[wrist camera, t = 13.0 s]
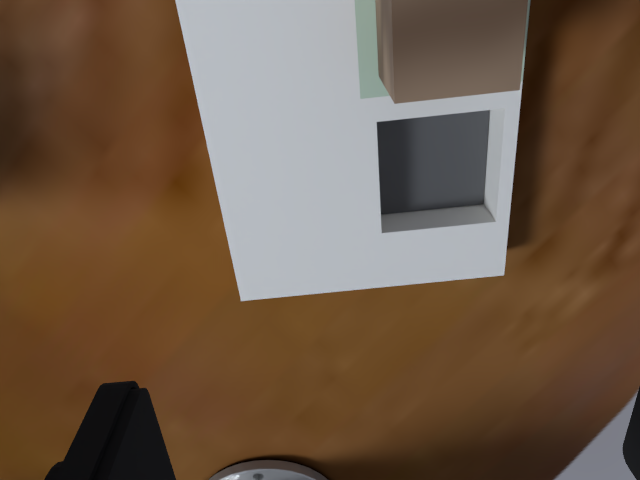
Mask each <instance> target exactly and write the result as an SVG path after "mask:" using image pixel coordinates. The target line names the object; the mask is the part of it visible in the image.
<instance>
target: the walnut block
mask: <svg viewBox="0 0 640 480" xmlns="http://www.w3.org/2000/svg"><path fill="white" fill-rule="evenodd" d="M375 5H376V28H377V50H378V73H379V78H380V80H381V81H382V83H383V85H384V86H385V88H386V90H387V92H388V93H389V95H390V97H391V99H392V100H393V102H394V104H398V103H407V102H416V101H425V100H434V99H444V98H453V97H462V96H471V95H480V94H489V93H498V92H507V91H516V90H520V84H521V73H522V62H523V51H524V40H525V29H526V18H527V7H528V0H375Z"/></svg>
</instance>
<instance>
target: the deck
mask: <svg viewBox="0 0 640 480" xmlns="http://www.w3.org/2000/svg"><path fill="white" fill-rule="evenodd" d="M175 1H176V5H177V10H178V14H179V19H180V23H181V28H182V33H183V37H184V42H185V46H186V51H187V56H188V60H189V65H190V69H191V74H192V78H193V83H194V88H195V92H196V97H197V101H198V106H199V110H200V115H201V120H202V124H203V129H204V133H205V138H206V143H207V147H208V152H209V156H210V161H211V165H212V170H213V175H214V179H215V184H216V188H217V193H218V197H219V202H220V207H221V211H222V216H223V220H224V225H225V230H226V234H227V239H228V243H229V248H230V252H231V257H232V262H233V266H234V271H235V275H236V280H237V284H238V289H239V294H240V298H241V301H246V300H256V299H267V298H277V297H287V296H297V295H307V294H318V293H328V292H338V291H348V290H358V289H369V288H379V287H389V286H399V285H409V284H420V283H430V282H440V281H450V280H460V279H471V278H481V277H491V276H501V275H504V270H505V260H506V249H507V239H508V229H509V218H510V208H511V197H512V187H513V177H514V166H515V156H516V145H517V135H518V124H519V114H520V104H521V93H522V83H523V72H524V62H525V51H526V41H527V31H528V20H529V10H530V0H528V7H527V18H526V29H525V40H524V51H523V62H522V73H521V84H520V90H516V91H507V92H498V93H489V94H480V95H471V96H462V97H453V98H444V99H434V100H425V101H416V102H407V103H398V104H394V102H393V100H392V99H391V97H390V95H389V93H388V92H387V90H386V88H385V86H384V85H383V83H382V81H381V80H380V78H379V73H378V50H377V28H376V5H375V0H175Z"/></svg>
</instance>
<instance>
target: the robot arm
mask: <svg viewBox="0 0 640 480" xmlns="http://www.w3.org/2000/svg"><path fill="white" fill-rule="evenodd" d="M623 455H624V459H625V461H626V464H627V465H628V467H629V469H630V470H631V472H632V473H633V475H634V476H635V478H636V479H637V480H640V387H639V391H638V394H637V398H636V401H635V405H634V408H633V412H632V415H631V419H630V423H629V426H628V429H627V433H626V436H625V440H624V443H623ZM45 480H176V478H175V475H174V472H173V469H172V465H171V462H170V459H169V456H168V453H167V449H166V446H165V443H164V440H163V437H162V433H161V430H160V427H159V424H158V421H157V417H156V414H155V411H154V408H153V405H152V401H151V398H150V395H149V392H148V390H147V389H146V388H139V386H138V384H137V383H136V382H135V381H127V382H115V383H103V384H102V385H101V386H100V387H99V389H98V390H97V392H96V394H95V397H94V399H93V401H92V403H91V405H90V407H89V409H88V411H87V413H86V415H85V417H84V419H83V421H82V423H81V426H80V428H79V430H78V432H77V434H76V436H75V438H74V440H73V442H72V444H71V446H70V448H69V450H68V452H67V455H66V457H65V459H64V461H62V462H58V463H56V464H55V465H54V466H53V467H52V468H51V469H50V471H49V473H48V474H47V476H46V478H45ZM209 480H328V479H327V478H325V477H324V476H323V475H321V474H320V473H318V472H316V471H314V470H312V469H311V468H309V467H306V466H303V465H300V464H297V463H292V462H287V461H280V460H256V461H250V462H244V463H240V464H237V465H234V466H231V467H228V468H226V469H224V470H222V471H220V472H218V473H216V474H215V475H214V476H213V477H211V478H210V479H209Z"/></svg>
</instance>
